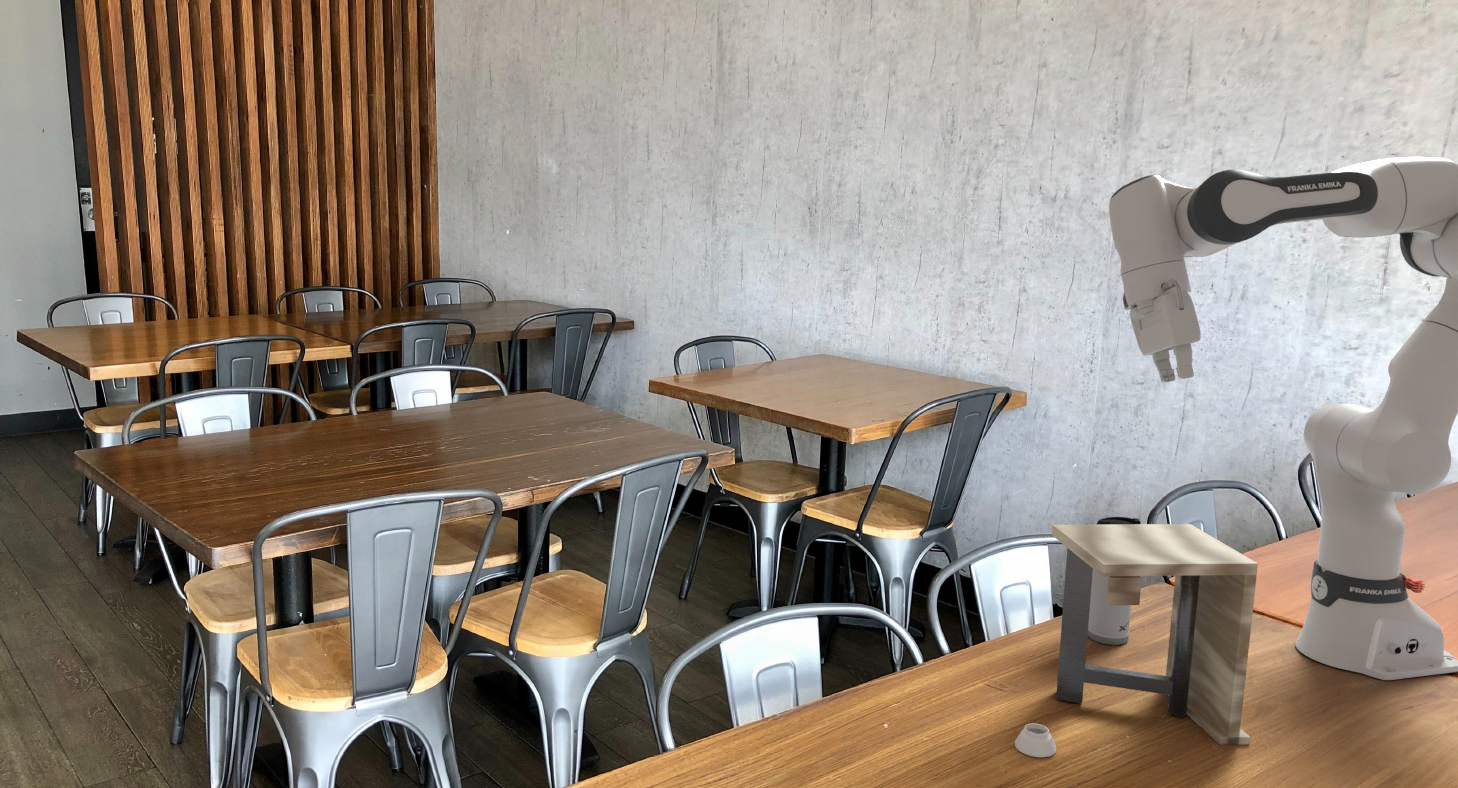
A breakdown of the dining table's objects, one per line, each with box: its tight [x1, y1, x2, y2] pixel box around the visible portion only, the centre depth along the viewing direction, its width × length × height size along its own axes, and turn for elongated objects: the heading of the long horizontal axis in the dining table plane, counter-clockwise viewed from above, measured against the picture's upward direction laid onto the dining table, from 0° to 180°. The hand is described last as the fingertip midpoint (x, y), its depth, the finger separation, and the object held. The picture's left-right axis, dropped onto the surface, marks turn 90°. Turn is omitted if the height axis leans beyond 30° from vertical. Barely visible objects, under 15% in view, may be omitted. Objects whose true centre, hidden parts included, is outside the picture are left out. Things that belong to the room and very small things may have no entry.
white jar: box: [1014, 722, 1057, 758], centre depth 136 cm, size 5×3×5 cm
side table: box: [1051, 523, 1259, 746], centre depth 144 cm, size 22×17×24 cm
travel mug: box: [1088, 516, 1142, 646], centre depth 171 cm, size 6×7×20 cm
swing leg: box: [1055, 547, 1200, 717], centre depth 147 cm, size 17×4×22 cm, turn 71°
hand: (1177, 380), depth 155 cm, fingers open, 8 cm apart
